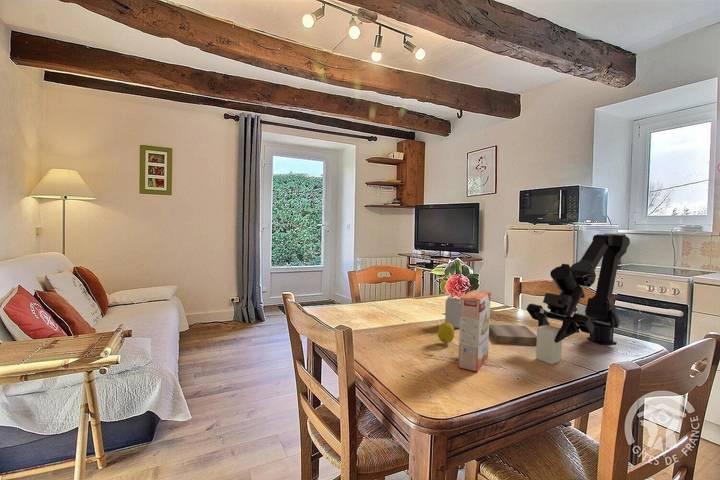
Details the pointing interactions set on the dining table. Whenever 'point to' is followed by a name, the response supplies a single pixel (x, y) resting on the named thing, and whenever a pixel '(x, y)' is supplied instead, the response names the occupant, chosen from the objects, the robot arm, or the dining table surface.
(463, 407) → the dining table surface
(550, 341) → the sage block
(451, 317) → the can
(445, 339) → the lemon
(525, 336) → the brown flat square slab
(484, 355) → the cracker box
